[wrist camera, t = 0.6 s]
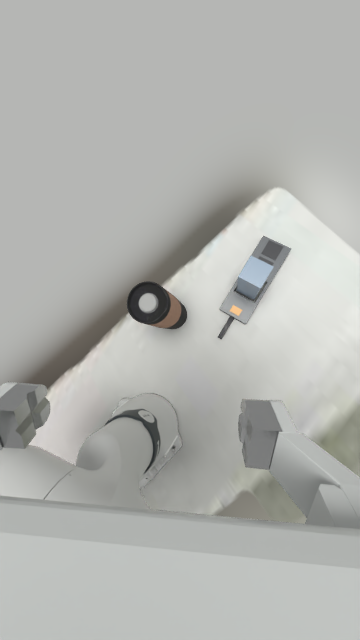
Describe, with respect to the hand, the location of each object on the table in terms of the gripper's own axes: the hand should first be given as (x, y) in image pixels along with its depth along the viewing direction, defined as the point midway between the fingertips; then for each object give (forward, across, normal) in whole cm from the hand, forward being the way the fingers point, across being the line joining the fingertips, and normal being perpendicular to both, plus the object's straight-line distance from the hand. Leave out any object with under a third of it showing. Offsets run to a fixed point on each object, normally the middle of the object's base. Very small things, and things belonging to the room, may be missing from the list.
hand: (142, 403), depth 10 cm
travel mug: (+49, -3, -14) cm, 51 cm away
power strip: (+49, +15, -7) cm, 52 cm away
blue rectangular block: (+49, +15, -7) cm, 52 cm away
